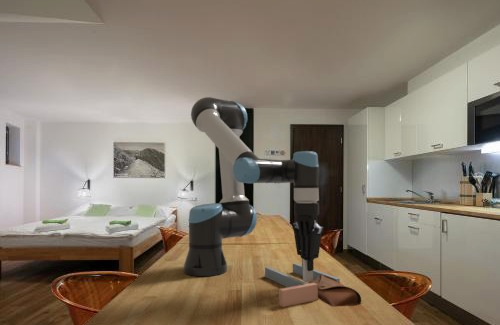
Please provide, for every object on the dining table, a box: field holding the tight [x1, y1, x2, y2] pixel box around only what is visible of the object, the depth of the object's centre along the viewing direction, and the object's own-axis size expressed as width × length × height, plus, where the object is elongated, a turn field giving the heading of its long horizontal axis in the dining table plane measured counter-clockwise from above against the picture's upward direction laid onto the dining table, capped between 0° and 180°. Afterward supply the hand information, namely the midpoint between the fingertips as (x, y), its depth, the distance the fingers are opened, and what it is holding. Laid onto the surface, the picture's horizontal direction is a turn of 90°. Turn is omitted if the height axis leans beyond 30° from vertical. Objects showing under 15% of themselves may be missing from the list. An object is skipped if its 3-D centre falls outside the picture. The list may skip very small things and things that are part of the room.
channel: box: [264, 262, 341, 288], centre depth 105 cm, size 12×22×3 cm, turn 28°
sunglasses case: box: [308, 274, 362, 308], centre depth 93 cm, size 18×7×7 cm
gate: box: [278, 282, 319, 308], centre depth 87 cm, size 11×2×4 cm, turn 118°
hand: (307, 280), depth 101 cm, fingers closed
